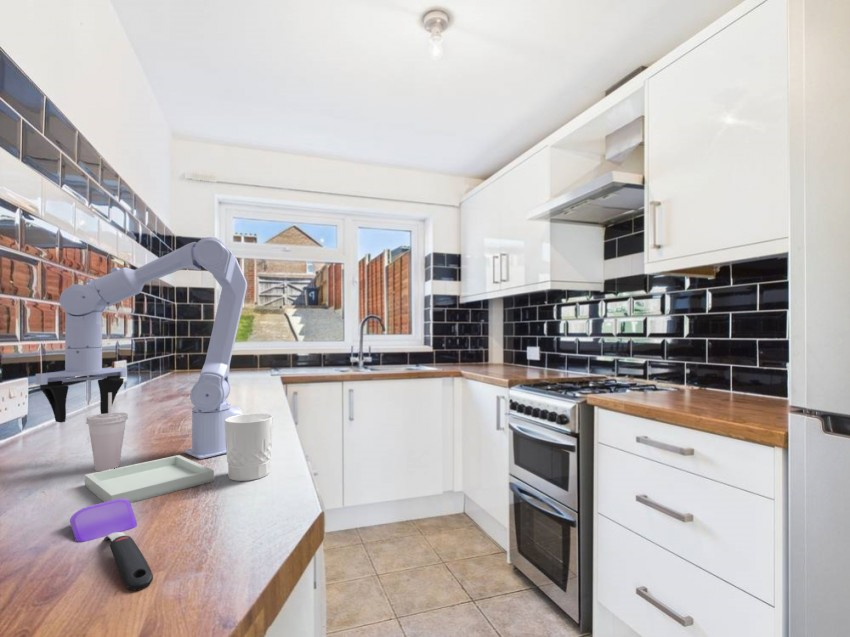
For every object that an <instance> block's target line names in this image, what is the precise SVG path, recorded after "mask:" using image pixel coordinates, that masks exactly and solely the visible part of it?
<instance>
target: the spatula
mask: <svg viewBox="0 0 850 637" xmlns="http://www.w3.org/2000/svg"><path fill="white" fill-rule="evenodd" d="M69 523H70V526H71V531H72V534H73V535H72V536H73V537H74V540H75V542H76V543H86V542H90V541H93V540H97V539H100V538H103V540H104V541H107V540H110V543H109V548H110V551H111V554H112V556H113V559H114V562H115V564H116V567H117V570H118V573H119V575H120V577H121V580H122V581H123V583H124V586H126V587H127V589H129V590H131V591H140V590H139V589H141V590H144V589H145V587H146V588H147V587H149V586H150V584H152V582H153V579H154V575H153V572H152V570H151V568H150V566H149V564H148V562H147V560H146V558H145V557H144V554H143V553H142V552H141V550H140V548H139V546H138V545H137V543H136V542H135V540H134V539H133V537H131V536H130V535H126V533H125V532H126V531H129V530H132V529H135V528H136V527H138V523H137V519H136V515H135V512H134V509H133V506H132V503H130V501H129V500H128V499H117V500H112V501H108V502H104V501H103V502H100V503H96V504H92V505H89V506H86V507H83V508H81V509H79V510H78V511H76V512H74V513H73V514H72V515H71V517H70V518H69ZM143 588H144V589H143Z"/></svg>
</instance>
